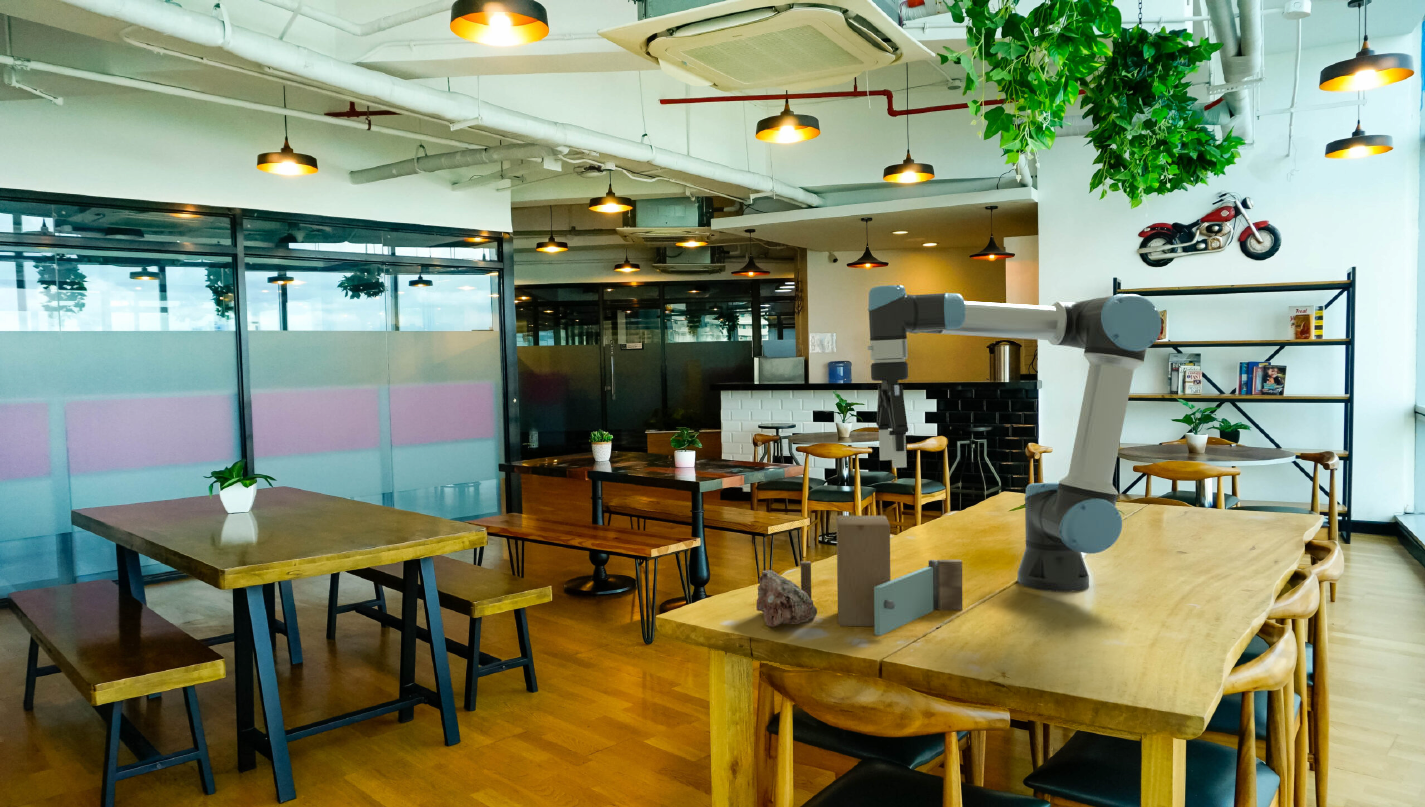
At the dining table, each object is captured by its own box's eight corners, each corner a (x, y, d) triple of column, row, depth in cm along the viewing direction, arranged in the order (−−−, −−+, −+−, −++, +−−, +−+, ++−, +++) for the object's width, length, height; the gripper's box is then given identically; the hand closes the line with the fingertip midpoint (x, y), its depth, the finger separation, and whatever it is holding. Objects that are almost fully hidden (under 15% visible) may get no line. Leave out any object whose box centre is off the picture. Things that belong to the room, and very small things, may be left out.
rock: (777, 561, 188) (830, 560, 177) (787, 613, 188) (840, 615, 177) (723, 579, 178) (775, 579, 167) (733, 634, 178) (786, 638, 166)
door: (927, 609, 183) (927, 566, 183) (939, 612, 182) (939, 568, 181) (874, 634, 167) (874, 586, 167) (886, 637, 166) (886, 589, 165)
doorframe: (960, 607, 184) (960, 559, 184) (962, 610, 183) (962, 561, 182) (801, 609, 186) (800, 561, 185) (801, 611, 184) (801, 563, 183)
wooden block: (891, 627, 172) (890, 524, 171) (838, 626, 173) (837, 523, 172) (887, 613, 181) (886, 515, 181) (837, 612, 183) (836, 515, 182)
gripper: (860, 362, 197) (864, 457, 198) (882, 361, 172) (886, 471, 173) (894, 360, 197) (898, 456, 198) (921, 360, 172) (925, 469, 173)
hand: (892, 463), depth 186 cm, fingers open, 13 cm apart
